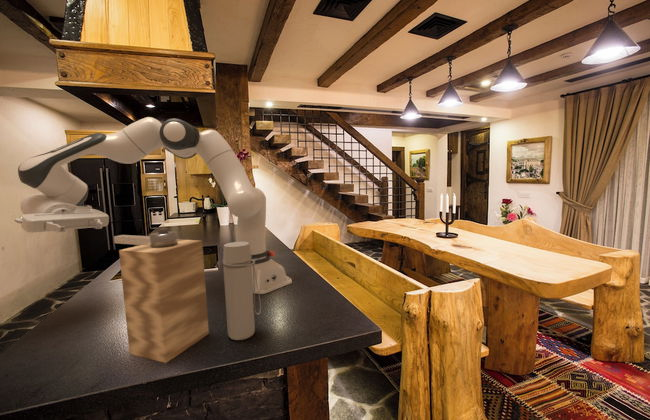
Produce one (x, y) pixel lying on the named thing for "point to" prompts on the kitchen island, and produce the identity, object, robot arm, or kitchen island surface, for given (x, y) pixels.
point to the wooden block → (164, 298)
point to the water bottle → (239, 290)
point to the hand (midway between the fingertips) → (81, 227)
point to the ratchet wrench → (150, 239)
